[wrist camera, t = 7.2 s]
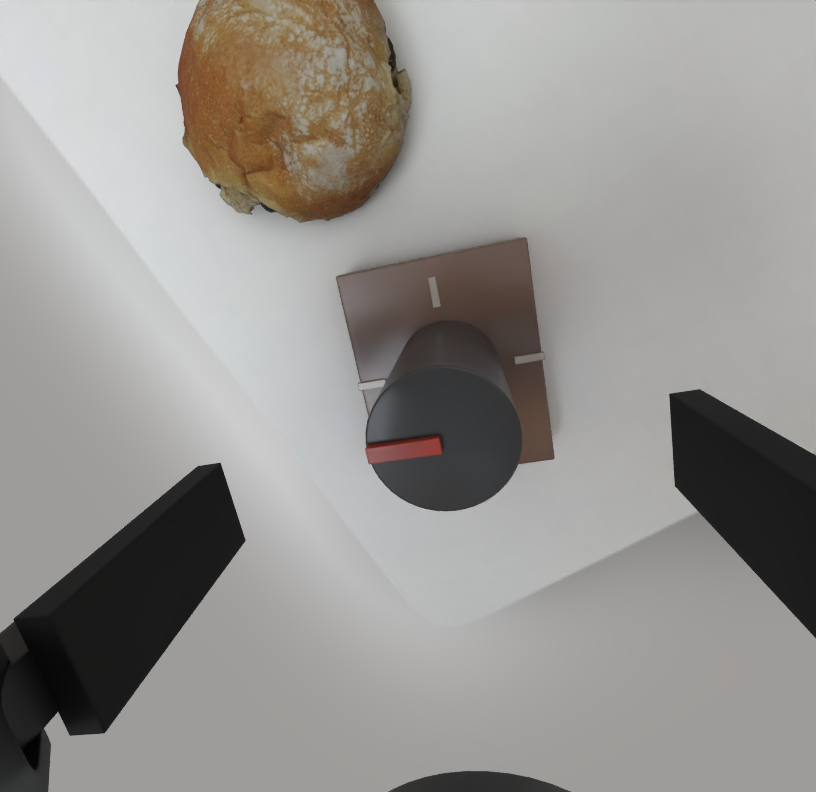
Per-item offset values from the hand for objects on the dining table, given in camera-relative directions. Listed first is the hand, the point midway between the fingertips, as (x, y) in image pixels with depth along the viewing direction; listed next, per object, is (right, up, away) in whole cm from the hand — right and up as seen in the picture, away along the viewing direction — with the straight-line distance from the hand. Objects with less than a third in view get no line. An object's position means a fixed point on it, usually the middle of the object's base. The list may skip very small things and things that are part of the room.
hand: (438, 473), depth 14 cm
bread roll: (-6, +16, +10) cm, 19 cm away
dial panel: (+1, +4, +12) cm, 13 cm away
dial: (+1, +3, +10) cm, 10 cm away
